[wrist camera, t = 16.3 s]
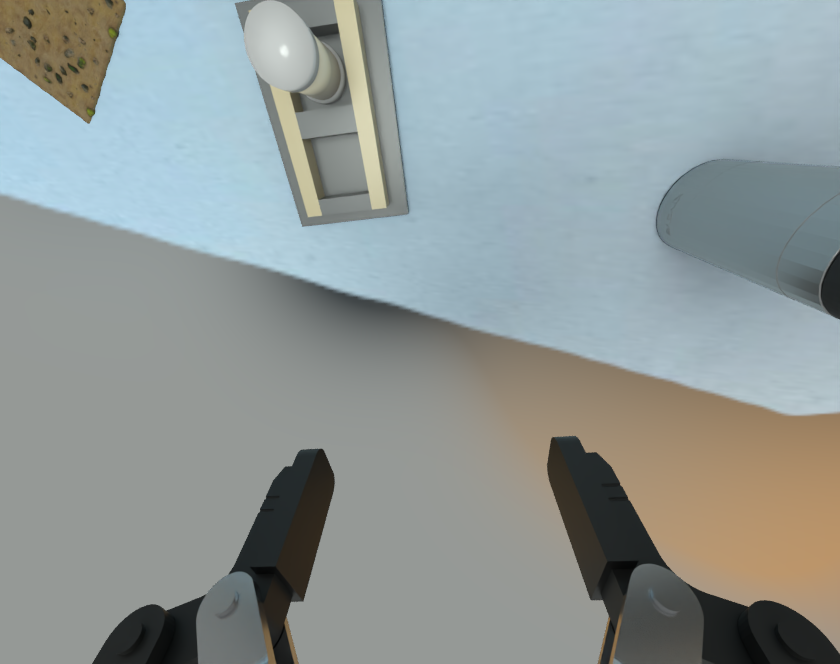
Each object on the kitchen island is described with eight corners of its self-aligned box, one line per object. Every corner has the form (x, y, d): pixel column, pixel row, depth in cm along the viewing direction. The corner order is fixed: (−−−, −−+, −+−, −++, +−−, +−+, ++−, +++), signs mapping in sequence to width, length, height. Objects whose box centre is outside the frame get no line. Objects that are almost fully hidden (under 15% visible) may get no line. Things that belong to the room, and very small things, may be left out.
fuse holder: (379, -17, 26) (373, -38, 23) (408, 212, 35) (406, 219, 32) (240, 7, 27) (217, -10, 24) (305, 224, 36) (294, 232, 33)
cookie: (-55, 16, 27) (-70, 12, 27) (-41, -152, 23) (-59, -164, 22) (94, 127, 32) (85, 127, 31) (132, 4, 27) (123, 0, 26)
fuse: (340, 41, 27) (300, -6, 18) (351, 101, 29) (320, 84, 20) (293, 48, 27) (232, 6, 19) (307, 107, 29) (259, 93, 21)
